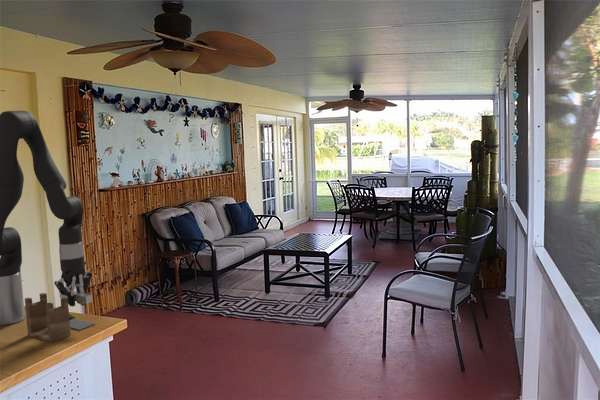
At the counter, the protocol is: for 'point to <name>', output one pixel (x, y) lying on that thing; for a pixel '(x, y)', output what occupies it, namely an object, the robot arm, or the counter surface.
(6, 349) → the counter surface
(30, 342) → the counter surface
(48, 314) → the cradle
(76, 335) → the counter surface
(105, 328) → the counter surface
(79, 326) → the mat
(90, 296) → the steel rod
